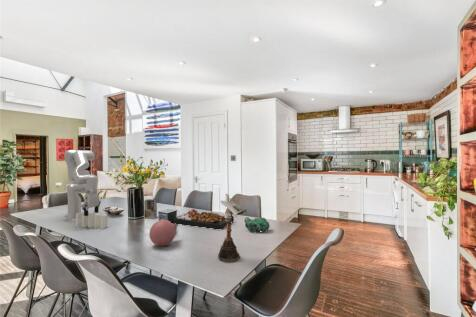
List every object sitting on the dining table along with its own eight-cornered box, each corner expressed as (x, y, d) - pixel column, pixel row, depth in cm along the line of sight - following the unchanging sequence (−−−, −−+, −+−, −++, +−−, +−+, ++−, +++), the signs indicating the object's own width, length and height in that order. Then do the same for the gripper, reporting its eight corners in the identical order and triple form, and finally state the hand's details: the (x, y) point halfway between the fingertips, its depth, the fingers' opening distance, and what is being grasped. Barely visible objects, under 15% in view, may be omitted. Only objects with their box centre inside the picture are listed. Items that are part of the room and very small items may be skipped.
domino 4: (94, 228, 177) (94, 215, 177) (99, 226, 182) (99, 213, 181) (96, 228, 176) (96, 215, 176) (101, 226, 181) (101, 213, 181)
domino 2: (81, 227, 179) (81, 214, 179) (87, 225, 184) (87, 212, 184) (83, 227, 179) (83, 214, 178) (89, 225, 183) (89, 212, 183)
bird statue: (252, 257, 129) (253, 192, 129) (241, 266, 118) (241, 196, 118) (227, 250, 137) (227, 190, 137) (213, 259, 126) (214, 193, 126)
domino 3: (88, 227, 178) (88, 214, 178) (93, 226, 183) (93, 213, 183) (89, 228, 177) (89, 214, 177) (95, 226, 182) (95, 213, 182)
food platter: (171, 224, 193) (171, 211, 193) (188, 217, 216) (188, 206, 216) (221, 230, 177) (221, 217, 177) (233, 222, 200) (233, 210, 200)
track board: (71, 228, 178) (71, 227, 178) (81, 225, 187) (81, 224, 187) (102, 231, 173) (102, 230, 173) (111, 227, 182) (111, 226, 182)
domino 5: (100, 228, 175) (100, 215, 175) (105, 227, 180) (105, 213, 180) (102, 229, 175) (102, 215, 175) (107, 227, 180) (107, 214, 180)
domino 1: (75, 226, 180) (75, 213, 180) (81, 225, 185) (81, 212, 185) (77, 227, 180) (77, 213, 180) (83, 225, 185) (83, 212, 185)
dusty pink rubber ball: (186, 242, 151) (186, 218, 151) (159, 252, 135) (160, 225, 135) (170, 237, 160) (170, 214, 160) (144, 246, 144) (144, 220, 144)
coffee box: (157, 217, 214) (157, 199, 213) (153, 219, 207) (154, 200, 207) (147, 216, 214) (147, 199, 214) (143, 218, 208) (144, 200, 208)
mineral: (249, 235, 164) (249, 221, 164) (241, 229, 179) (241, 216, 179) (272, 232, 171) (273, 219, 171) (262, 226, 186) (262, 214, 186)
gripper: (86, 193, 171) (86, 217, 171) (104, 190, 188) (104, 211, 188) (77, 193, 172) (77, 216, 173) (96, 189, 189) (96, 211, 190)
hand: (91, 214), depth 180 cm, fingers open, 9 cm apart
